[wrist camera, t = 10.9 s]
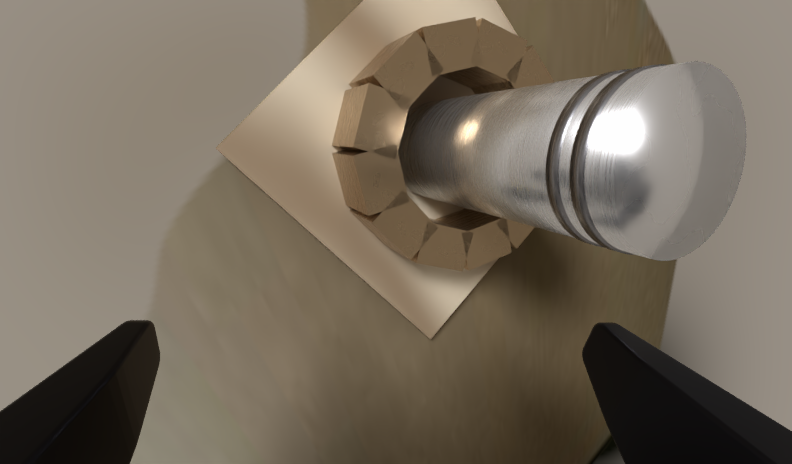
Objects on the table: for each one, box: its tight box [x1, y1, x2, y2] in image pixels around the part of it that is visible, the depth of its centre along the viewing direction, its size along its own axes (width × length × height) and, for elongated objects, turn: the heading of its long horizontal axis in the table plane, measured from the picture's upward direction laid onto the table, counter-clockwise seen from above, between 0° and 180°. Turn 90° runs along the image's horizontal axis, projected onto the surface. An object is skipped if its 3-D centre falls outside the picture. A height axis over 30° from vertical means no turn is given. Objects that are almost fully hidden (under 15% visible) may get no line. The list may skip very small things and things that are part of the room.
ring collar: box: [332, 17, 554, 271], centre depth 19 cm, size 10×10×3 cm
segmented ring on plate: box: [216, 0, 518, 339], centre depth 21 cm, size 14×14×1 cm
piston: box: [398, 61, 746, 261], centre depth 15 cm, size 5×5×12 cm
